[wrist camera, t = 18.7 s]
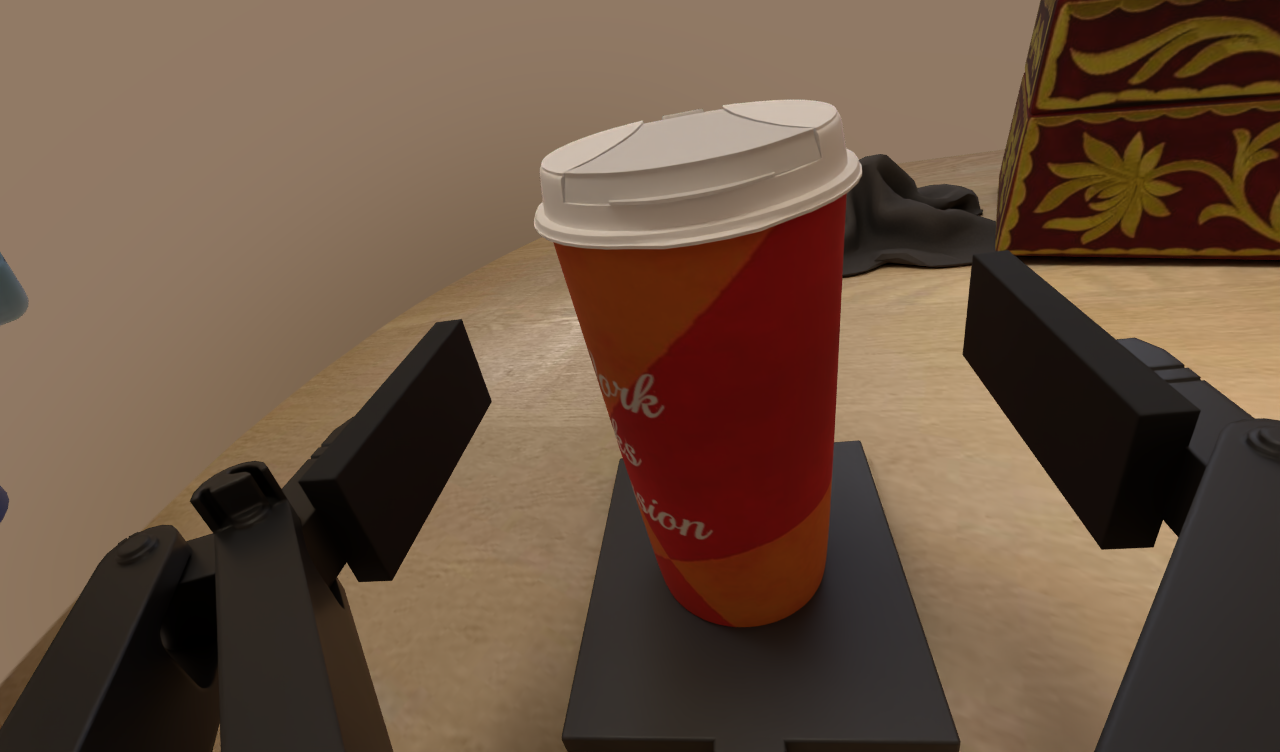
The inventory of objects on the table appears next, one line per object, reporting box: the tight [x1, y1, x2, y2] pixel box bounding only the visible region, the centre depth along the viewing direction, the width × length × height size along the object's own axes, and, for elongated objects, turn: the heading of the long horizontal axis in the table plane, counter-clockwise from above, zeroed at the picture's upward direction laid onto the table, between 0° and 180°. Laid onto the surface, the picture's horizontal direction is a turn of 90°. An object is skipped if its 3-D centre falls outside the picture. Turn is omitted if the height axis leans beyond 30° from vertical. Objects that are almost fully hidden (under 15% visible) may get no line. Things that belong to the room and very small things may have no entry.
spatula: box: [562, 441, 960, 752], centre depth 17 cm, size 11×26×1 cm, turn 174°
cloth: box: [842, 154, 996, 276], centre depth 48 cm, size 22×19×6 cm
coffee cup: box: [534, 100, 862, 627], centre depth 18 cm, size 8×8×15 cm
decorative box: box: [995, 0, 1280, 260], centre depth 37 cm, size 28×19×15 cm
